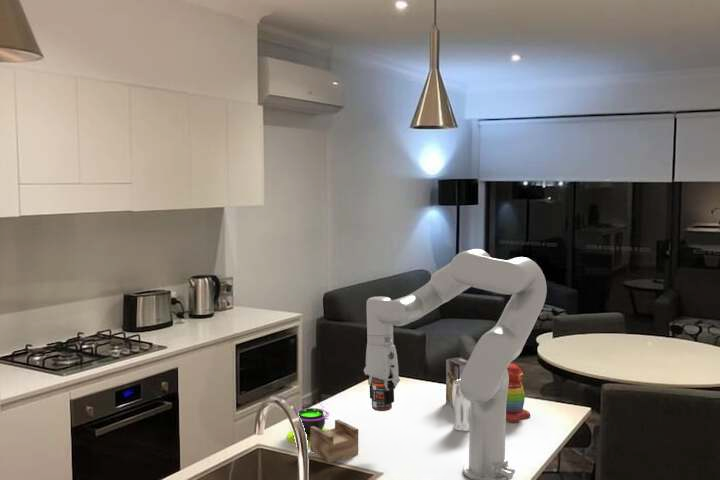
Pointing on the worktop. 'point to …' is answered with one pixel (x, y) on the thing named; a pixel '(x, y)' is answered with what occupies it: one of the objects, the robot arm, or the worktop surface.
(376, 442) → the worktop surface
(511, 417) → the stacking bear
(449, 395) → the coffee box
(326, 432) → the pedestal
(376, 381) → the supplement bottle
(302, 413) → the toy cauldron
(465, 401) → the white cylindrical cup
